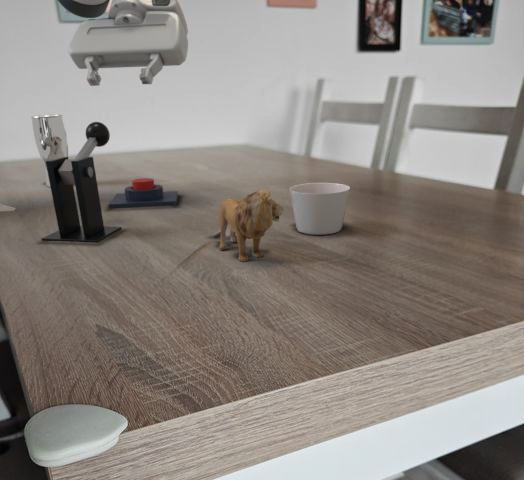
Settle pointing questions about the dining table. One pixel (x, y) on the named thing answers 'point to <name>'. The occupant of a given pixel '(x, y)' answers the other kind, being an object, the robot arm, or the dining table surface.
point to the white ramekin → (319, 207)
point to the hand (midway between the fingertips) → (118, 82)
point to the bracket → (67, 205)
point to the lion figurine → (247, 220)
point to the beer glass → (50, 138)
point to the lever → (85, 149)
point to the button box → (144, 198)
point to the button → (143, 184)
